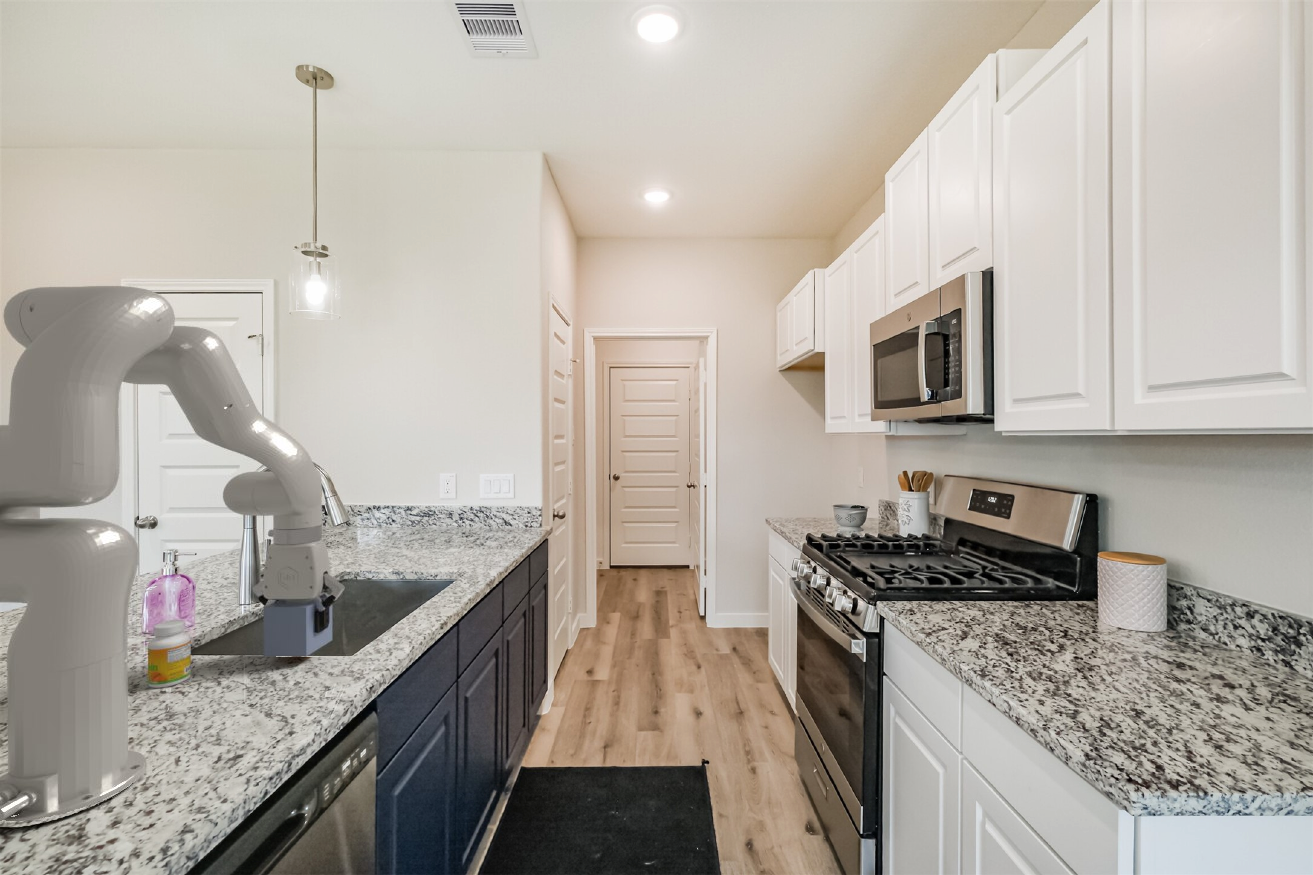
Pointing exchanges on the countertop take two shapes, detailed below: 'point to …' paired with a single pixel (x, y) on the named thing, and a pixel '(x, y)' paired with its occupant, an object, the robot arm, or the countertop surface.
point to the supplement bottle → (169, 654)
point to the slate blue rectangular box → (293, 628)
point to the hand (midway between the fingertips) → (299, 629)
